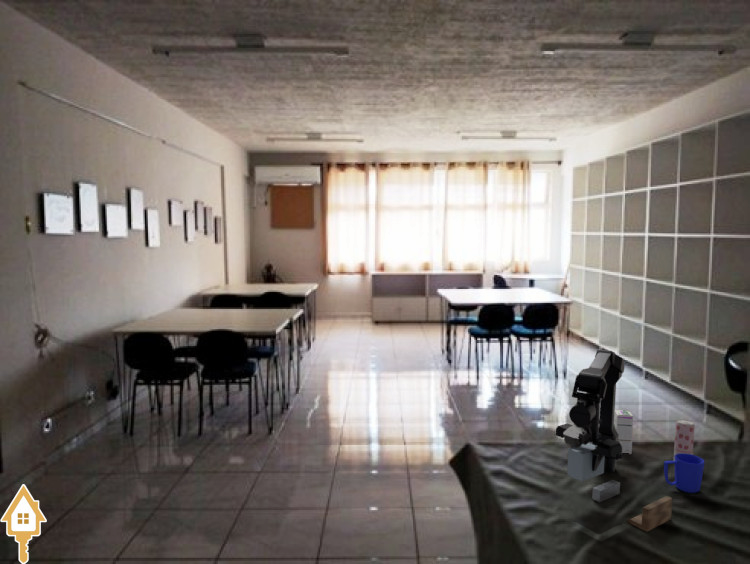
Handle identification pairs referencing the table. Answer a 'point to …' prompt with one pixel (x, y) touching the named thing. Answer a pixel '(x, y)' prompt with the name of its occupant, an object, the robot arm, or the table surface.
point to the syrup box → (624, 429)
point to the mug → (686, 472)
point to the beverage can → (684, 437)
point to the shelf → (653, 514)
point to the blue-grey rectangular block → (583, 463)
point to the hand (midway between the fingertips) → (586, 467)
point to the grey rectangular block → (606, 491)
